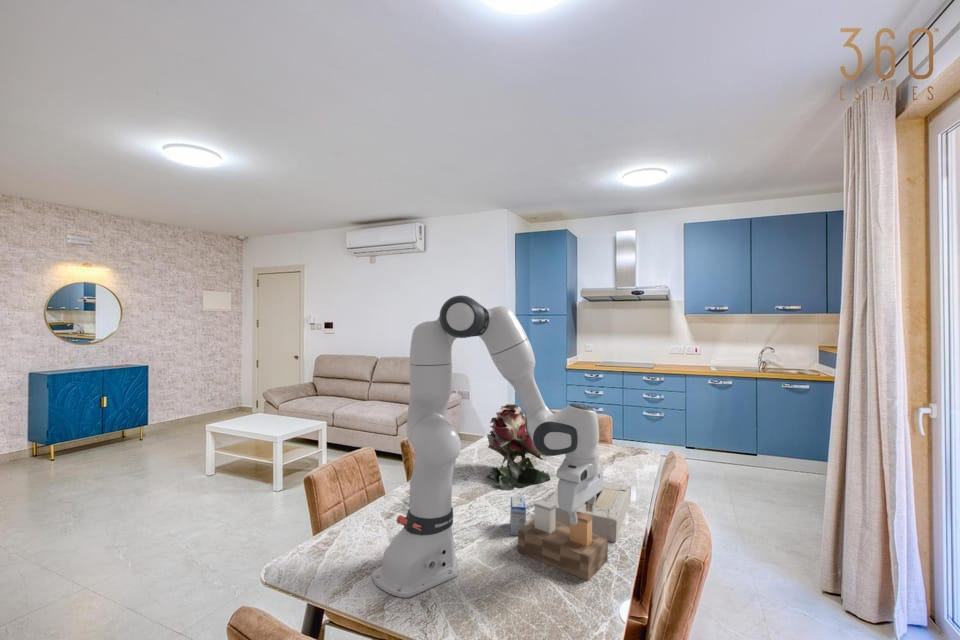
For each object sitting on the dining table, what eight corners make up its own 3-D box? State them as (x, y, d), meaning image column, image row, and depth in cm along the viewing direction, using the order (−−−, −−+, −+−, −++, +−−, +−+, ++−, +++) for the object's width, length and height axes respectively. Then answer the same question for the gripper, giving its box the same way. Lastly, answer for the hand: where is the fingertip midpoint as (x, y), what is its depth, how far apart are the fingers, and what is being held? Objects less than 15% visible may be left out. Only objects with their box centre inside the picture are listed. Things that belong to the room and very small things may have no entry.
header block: (588, 580, 108) (588, 556, 108) (517, 551, 121) (518, 530, 121) (607, 560, 117) (607, 538, 117) (540, 535, 130) (540, 515, 130)
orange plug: (587, 560, 113) (587, 520, 113) (568, 553, 116) (569, 514, 116) (592, 555, 115) (592, 516, 115) (574, 549, 118) (574, 510, 118)
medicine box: (510, 523, 138) (510, 496, 138) (524, 523, 138) (524, 496, 138) (511, 535, 130) (511, 506, 130) (526, 536, 130) (526, 507, 130)
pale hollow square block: (618, 545, 127) (631, 503, 155) (617, 518, 127) (631, 482, 156) (541, 529, 137) (567, 493, 166) (541, 504, 137) (567, 472, 166)
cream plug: (549, 546, 120) (550, 508, 120) (533, 540, 123) (534, 503, 123) (555, 542, 122) (556, 504, 122) (539, 536, 125) (540, 499, 125)
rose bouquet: (561, 478, 180) (562, 405, 180) (505, 493, 163) (506, 413, 163) (521, 461, 201) (522, 396, 201) (468, 473, 184) (469, 402, 184)
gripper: (588, 453, 126) (588, 501, 126) (553, 473, 110) (553, 527, 110) (609, 457, 122) (609, 506, 122) (575, 478, 106) (576, 535, 106)
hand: (582, 516), depth 116 cm, fingers open, 8 cm apart
